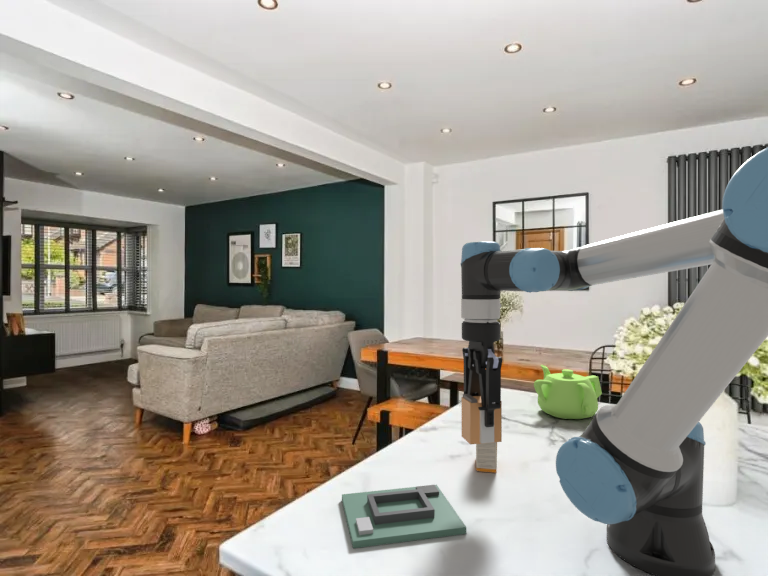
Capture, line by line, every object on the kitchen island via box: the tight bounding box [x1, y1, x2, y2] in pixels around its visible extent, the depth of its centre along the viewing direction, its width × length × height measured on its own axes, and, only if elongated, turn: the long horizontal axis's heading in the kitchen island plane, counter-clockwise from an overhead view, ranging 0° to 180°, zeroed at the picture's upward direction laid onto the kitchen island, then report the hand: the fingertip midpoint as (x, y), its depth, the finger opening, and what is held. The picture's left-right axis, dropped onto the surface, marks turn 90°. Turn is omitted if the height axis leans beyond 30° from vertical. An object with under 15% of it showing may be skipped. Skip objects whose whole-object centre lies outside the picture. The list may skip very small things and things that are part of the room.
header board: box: [341, 484, 467, 549], centre depth 83 cm, size 16×20×3 cm
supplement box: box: [475, 442, 498, 474], centre depth 105 cm, size 8×5×13 cm, turn 168°
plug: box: [461, 393, 503, 445], centre depth 88 cm, size 4×6×9 cm
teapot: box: [533, 364, 603, 420], centre depth 145 cm, size 19×20×14 cm
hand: (481, 437), depth 88 cm, fingers closed on plug, 4 cm apart
